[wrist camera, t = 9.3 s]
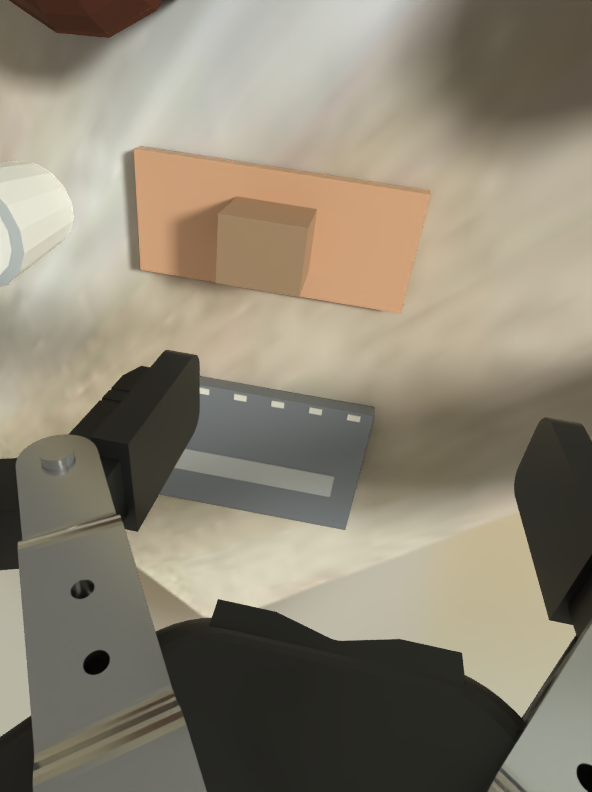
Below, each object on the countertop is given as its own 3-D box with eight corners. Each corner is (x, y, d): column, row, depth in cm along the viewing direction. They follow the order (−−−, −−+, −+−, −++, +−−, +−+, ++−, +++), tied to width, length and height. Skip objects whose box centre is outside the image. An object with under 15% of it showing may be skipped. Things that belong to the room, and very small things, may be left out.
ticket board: (374, 407, 40) (374, 416, 39) (345, 520, 47) (345, 530, 46) (153, 367, 41) (147, 376, 40) (158, 484, 48) (153, 494, 47)
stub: (429, 190, 30) (437, 212, 26) (400, 306, 35) (402, 343, 30) (141, 145, 31) (99, 159, 27) (147, 264, 36) (112, 293, 31)
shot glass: (36, 130, 32) (-41, 144, 26) (102, 230, 35) (46, 262, 29) (-35, 179, 34) (-119, 202, 29) (33, 269, 37) (-31, 306, 32)
